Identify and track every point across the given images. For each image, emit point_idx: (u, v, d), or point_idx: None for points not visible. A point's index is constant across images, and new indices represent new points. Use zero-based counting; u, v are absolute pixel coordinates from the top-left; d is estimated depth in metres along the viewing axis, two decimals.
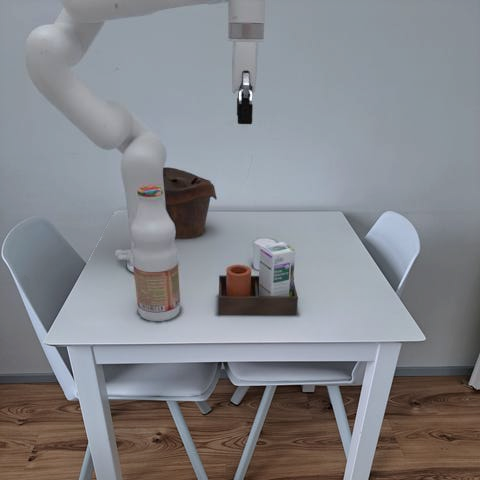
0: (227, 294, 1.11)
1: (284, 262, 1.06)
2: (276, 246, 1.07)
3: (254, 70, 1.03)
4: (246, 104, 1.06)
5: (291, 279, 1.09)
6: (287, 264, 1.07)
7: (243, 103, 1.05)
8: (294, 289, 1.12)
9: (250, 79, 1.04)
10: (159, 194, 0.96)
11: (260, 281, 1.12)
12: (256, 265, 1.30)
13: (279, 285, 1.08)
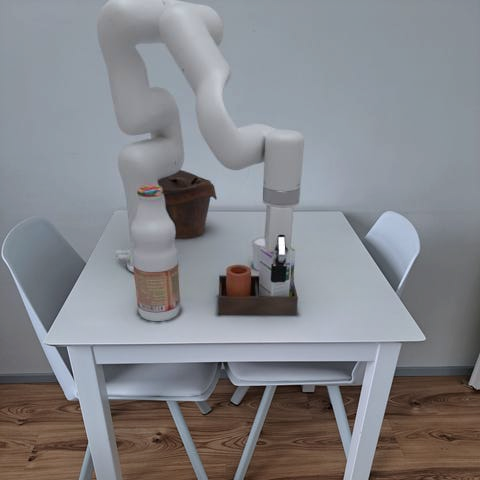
0: (227, 294, 1.11)
1: None
2: None
3: (290, 234, 1.00)
4: (280, 266, 1.03)
5: (291, 279, 1.09)
6: (287, 264, 1.07)
7: (277, 265, 1.03)
8: (294, 289, 1.12)
9: (285, 242, 1.01)
10: (159, 194, 0.96)
11: (260, 281, 1.11)
12: (256, 265, 1.30)
13: (279, 285, 1.08)
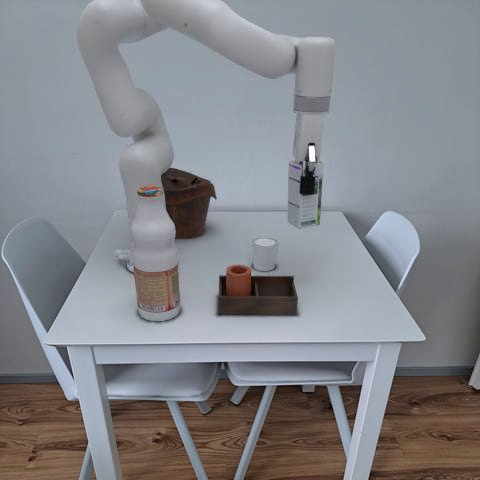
0: (227, 294, 1.11)
1: None
2: None
3: (320, 142, 1.03)
4: (309, 176, 1.06)
5: (319, 194, 1.11)
6: (316, 177, 1.09)
7: (307, 175, 1.06)
8: (294, 289, 1.12)
9: (315, 151, 1.03)
10: (159, 194, 0.96)
11: (289, 198, 1.14)
12: (256, 265, 1.30)
13: (308, 199, 1.11)
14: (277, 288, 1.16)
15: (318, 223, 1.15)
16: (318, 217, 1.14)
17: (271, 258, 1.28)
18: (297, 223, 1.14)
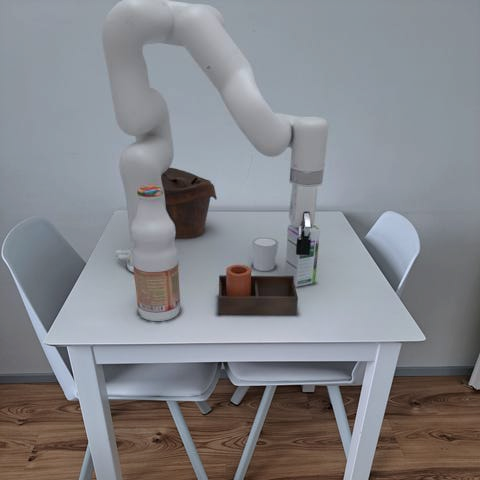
0: (227, 294, 1.11)
1: None
2: (302, 225, 1.18)
3: (314, 211, 1.11)
4: (305, 239, 1.13)
5: (315, 256, 1.20)
6: (312, 242, 1.18)
7: (303, 239, 1.13)
8: (294, 289, 1.12)
9: (310, 218, 1.12)
10: (159, 194, 0.96)
11: (287, 257, 1.23)
12: (256, 265, 1.30)
13: (305, 261, 1.19)
14: (277, 288, 1.16)
15: (313, 281, 1.24)
16: (313, 276, 1.23)
17: (271, 258, 1.28)
18: (294, 282, 1.22)
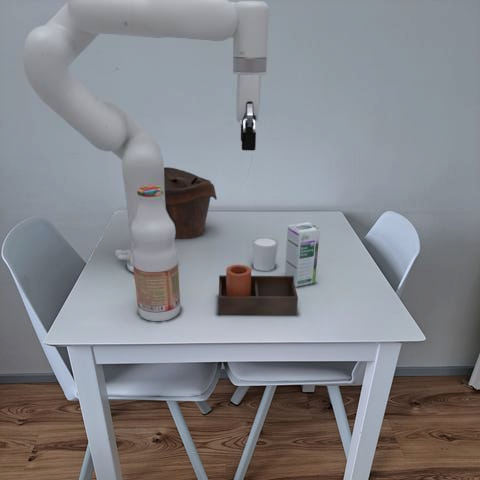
0: (227, 294, 1.11)
1: (310, 239, 1.17)
2: (302, 225, 1.18)
3: (257, 101, 1.10)
4: (250, 132, 1.12)
5: (315, 256, 1.20)
6: (312, 242, 1.18)
7: (247, 131, 1.12)
8: (294, 289, 1.12)
9: (253, 109, 1.11)
10: (159, 194, 0.96)
11: (287, 257, 1.23)
12: (256, 265, 1.30)
13: (305, 261, 1.19)
14: (277, 288, 1.16)
15: (313, 281, 1.24)
16: (313, 276, 1.23)
17: (271, 258, 1.28)
18: (294, 282, 1.22)
